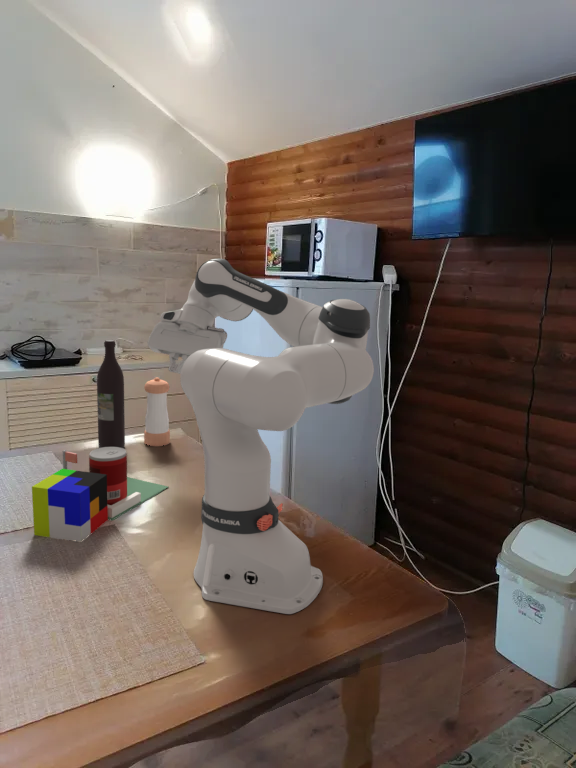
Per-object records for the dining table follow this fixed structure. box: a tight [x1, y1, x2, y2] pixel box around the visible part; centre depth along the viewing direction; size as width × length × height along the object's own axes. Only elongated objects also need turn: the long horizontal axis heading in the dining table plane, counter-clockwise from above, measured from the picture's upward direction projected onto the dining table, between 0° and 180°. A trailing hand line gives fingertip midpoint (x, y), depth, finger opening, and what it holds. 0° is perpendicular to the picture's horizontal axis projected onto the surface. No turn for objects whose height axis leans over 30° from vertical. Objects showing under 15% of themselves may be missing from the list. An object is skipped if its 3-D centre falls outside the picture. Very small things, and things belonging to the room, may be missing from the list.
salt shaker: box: [143, 376, 171, 447], centre depth 169 cm, size 7×7×19 cm
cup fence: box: [62, 449, 141, 518], centre depth 128 cm, size 13×9×12 cm
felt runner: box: [107, 476, 169, 521], centre depth 133 cm, size 14×20×1 cm
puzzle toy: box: [31, 468, 109, 542], centre depth 117 cm, size 10×10×10 cm
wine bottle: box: [96, 339, 126, 449], centre depth 162 cm, size 7×7×30 cm
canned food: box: [88, 447, 128, 505], centre depth 130 cm, size 8×8×11 cm
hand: (174, 372), depth 148 cm, fingers closed
